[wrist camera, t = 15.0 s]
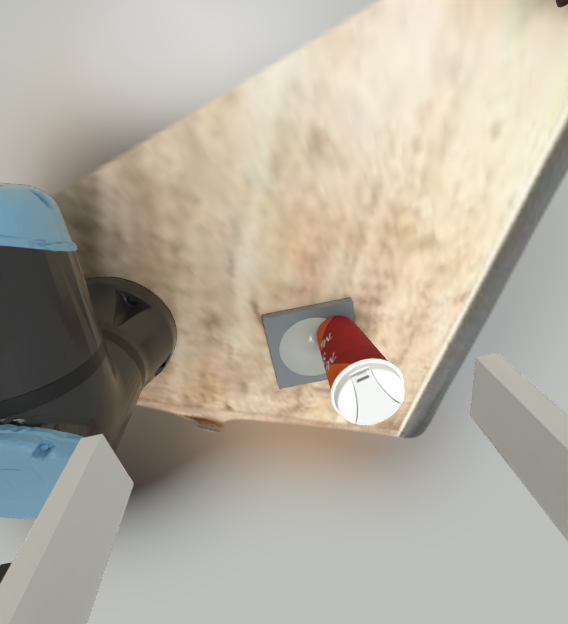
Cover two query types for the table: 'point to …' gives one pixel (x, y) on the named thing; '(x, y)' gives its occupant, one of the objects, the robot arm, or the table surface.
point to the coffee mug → (561, 3)
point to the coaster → (301, 340)
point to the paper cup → (358, 373)
